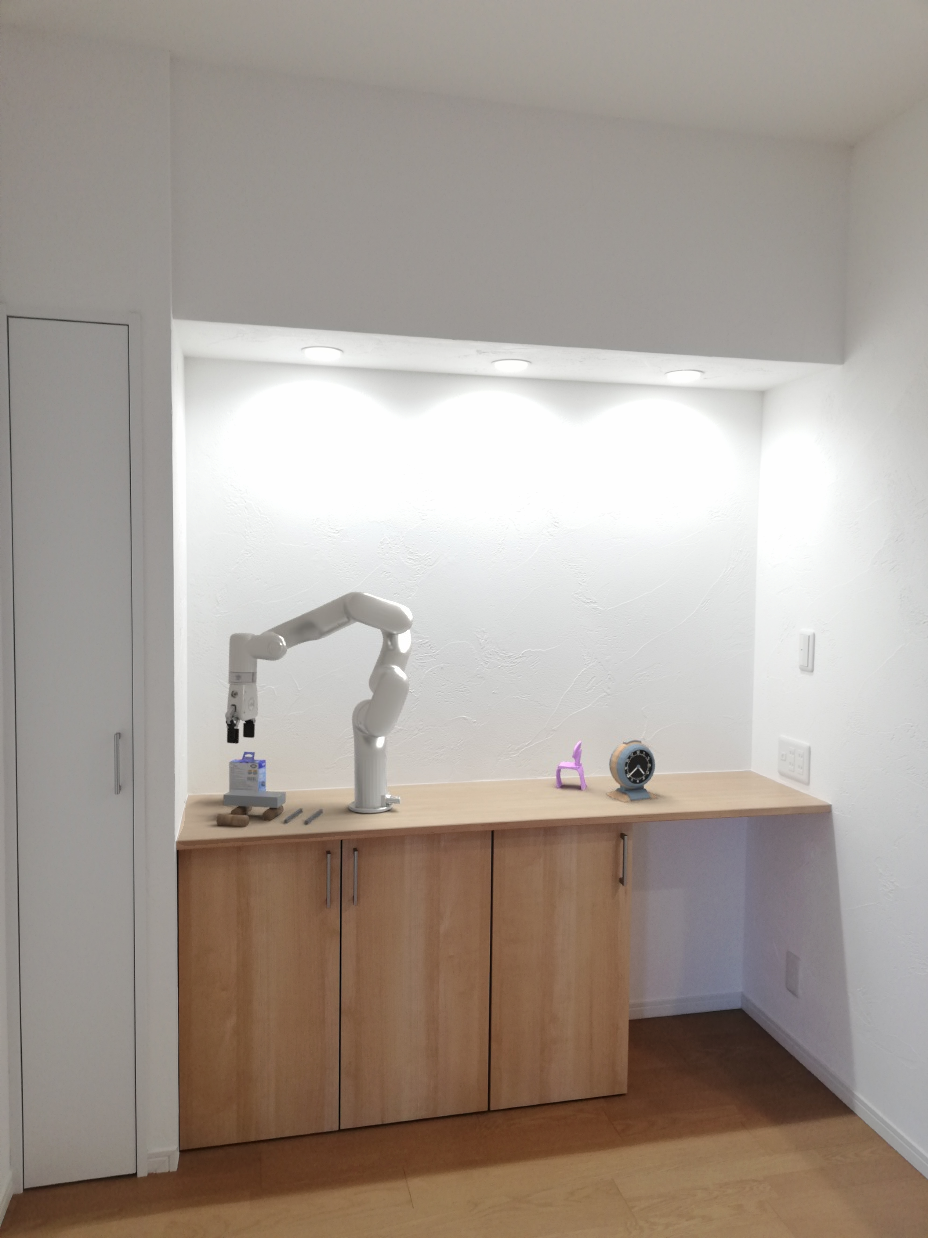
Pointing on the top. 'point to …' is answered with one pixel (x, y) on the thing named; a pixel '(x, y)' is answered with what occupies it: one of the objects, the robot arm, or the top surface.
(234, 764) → the ink cartridge box
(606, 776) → the top surface
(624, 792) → the alarm clock
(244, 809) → the roller
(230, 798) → the slab
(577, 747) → the toy chair
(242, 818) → the roller
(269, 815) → the roller
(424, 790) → the top surface
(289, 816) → the bar
